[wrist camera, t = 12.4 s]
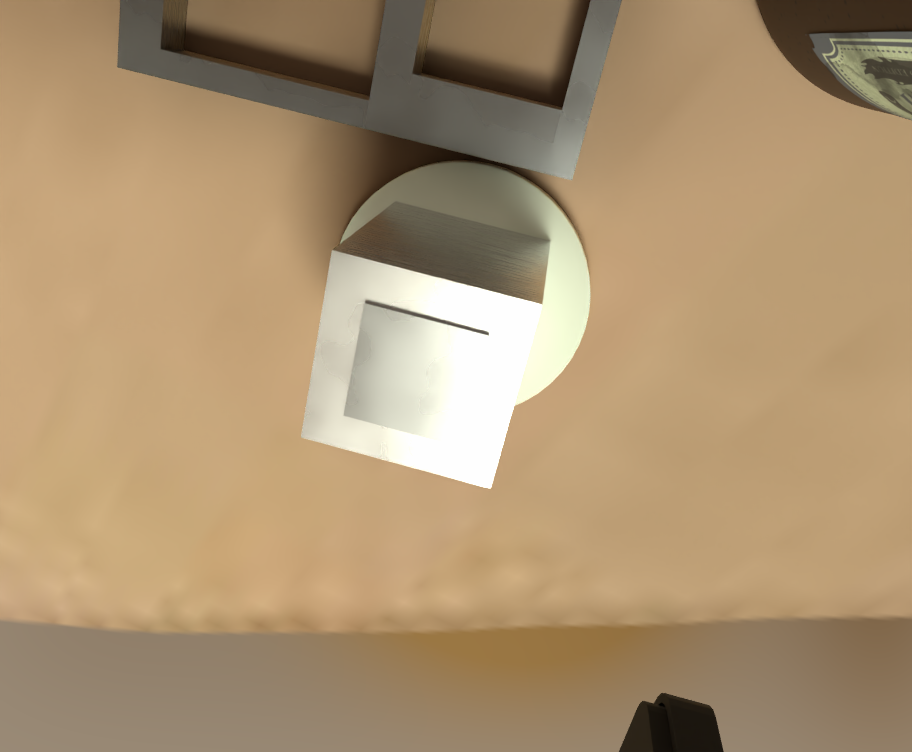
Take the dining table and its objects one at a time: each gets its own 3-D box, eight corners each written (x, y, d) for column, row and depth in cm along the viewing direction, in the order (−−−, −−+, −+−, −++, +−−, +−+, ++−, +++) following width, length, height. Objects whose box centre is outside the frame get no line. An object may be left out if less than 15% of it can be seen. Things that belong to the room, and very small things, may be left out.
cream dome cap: (321, 371, 28) (315, 379, 27) (362, 131, 25) (355, 133, 24) (551, 431, 28) (550, 442, 27) (622, 196, 24) (624, 200, 24)
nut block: (395, 201, 25) (330, 251, 18) (550, 240, 24) (542, 306, 18) (367, 346, 27) (299, 439, 20) (510, 384, 26) (489, 491, 20)
